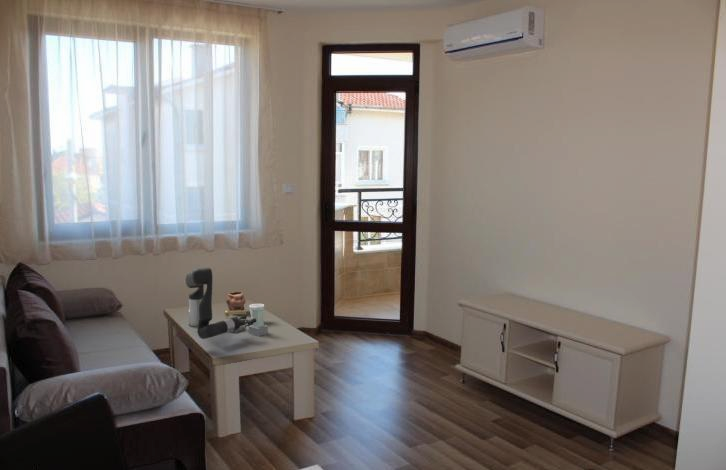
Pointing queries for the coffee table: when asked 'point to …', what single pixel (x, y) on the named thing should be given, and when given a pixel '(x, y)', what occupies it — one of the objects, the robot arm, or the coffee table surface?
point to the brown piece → (234, 313)
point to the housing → (258, 330)
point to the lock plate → (239, 329)
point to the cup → (254, 306)
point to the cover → (258, 317)
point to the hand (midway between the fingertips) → (250, 318)
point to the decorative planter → (235, 301)
